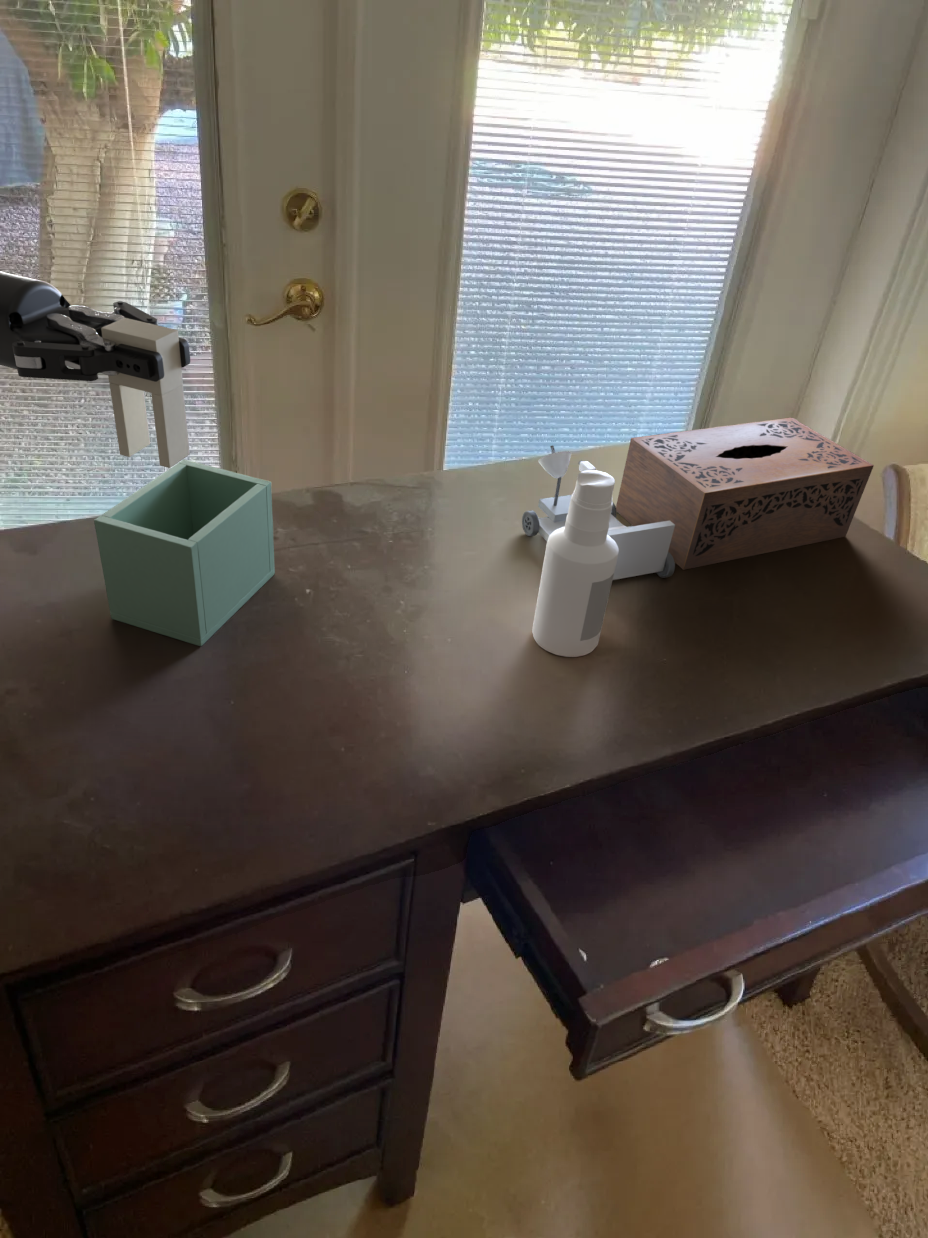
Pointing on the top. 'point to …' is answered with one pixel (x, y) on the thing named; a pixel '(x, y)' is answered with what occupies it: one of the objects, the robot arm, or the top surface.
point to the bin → (187, 550)
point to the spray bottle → (578, 571)
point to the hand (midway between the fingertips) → (173, 360)
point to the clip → (164, 394)
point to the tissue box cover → (742, 489)
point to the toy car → (636, 544)
